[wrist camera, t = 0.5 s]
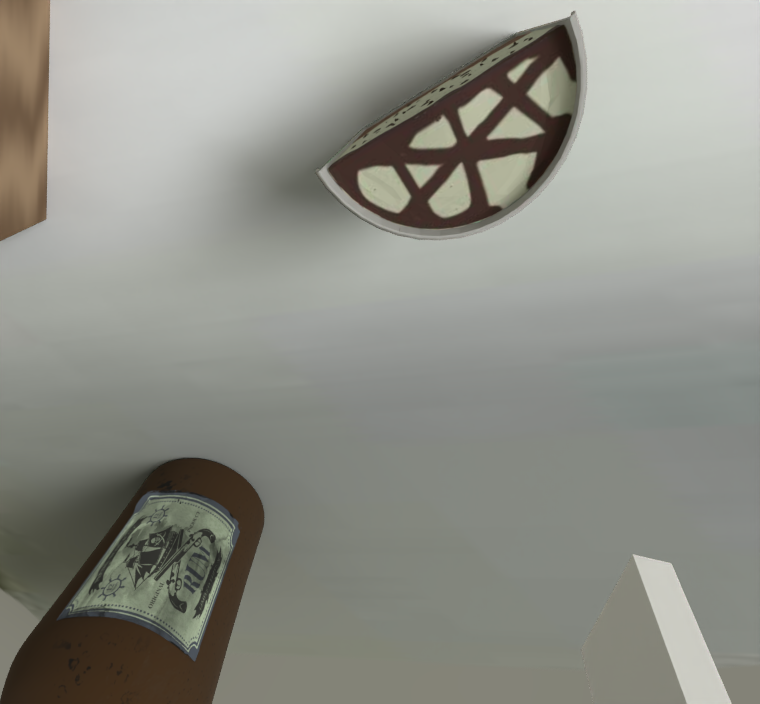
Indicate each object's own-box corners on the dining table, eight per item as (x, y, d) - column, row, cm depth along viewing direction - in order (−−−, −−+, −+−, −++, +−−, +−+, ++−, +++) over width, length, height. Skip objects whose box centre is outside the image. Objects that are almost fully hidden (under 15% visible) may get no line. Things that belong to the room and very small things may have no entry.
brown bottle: (253, 578, 51) (109, 998, 29) (123, 536, 51) (-128, 935, 28) (290, 477, 47) (152, 884, 24) (147, 429, 46) (-131, 805, 24)
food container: (394, 236, 38) (381, 299, 29) (339, 142, 36) (306, 179, 27) (594, 126, 35) (647, 158, 26) (545, 15, 33) (585, 8, 24)
